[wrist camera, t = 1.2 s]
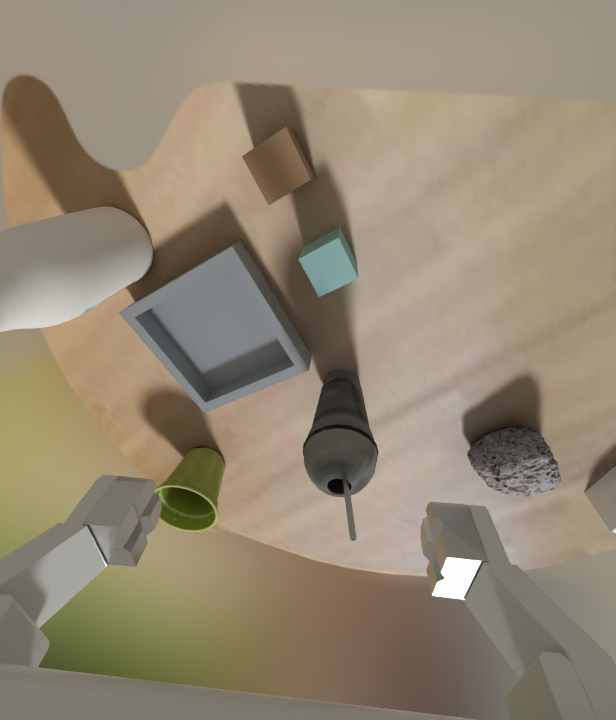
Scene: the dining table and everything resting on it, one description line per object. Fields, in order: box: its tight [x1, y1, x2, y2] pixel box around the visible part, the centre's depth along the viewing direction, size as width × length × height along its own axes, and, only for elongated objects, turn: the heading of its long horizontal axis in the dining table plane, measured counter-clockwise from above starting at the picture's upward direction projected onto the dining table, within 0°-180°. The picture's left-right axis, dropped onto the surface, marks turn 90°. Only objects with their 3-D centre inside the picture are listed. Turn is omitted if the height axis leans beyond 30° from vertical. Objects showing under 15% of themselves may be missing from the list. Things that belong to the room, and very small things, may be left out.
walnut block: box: [242, 127, 316, 205], centre depth 30 cm, size 4×4×5 cm
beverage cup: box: [303, 370, 378, 541], centre depth 35 cm, size 7×7×20 cm
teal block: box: [298, 227, 358, 297], centre depth 33 cm, size 4×4×5 cm
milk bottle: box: [0, 206, 153, 332], centre depth 28 cm, size 8×8×20 cm
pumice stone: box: [467, 427, 561, 496], centre depth 43 cm, size 10×8×10 cm
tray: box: [120, 239, 312, 413], centre depth 40 cm, size 15×15×3 cm
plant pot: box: [155, 447, 225, 532], centre depth 49 cm, size 9×9×9 cm
